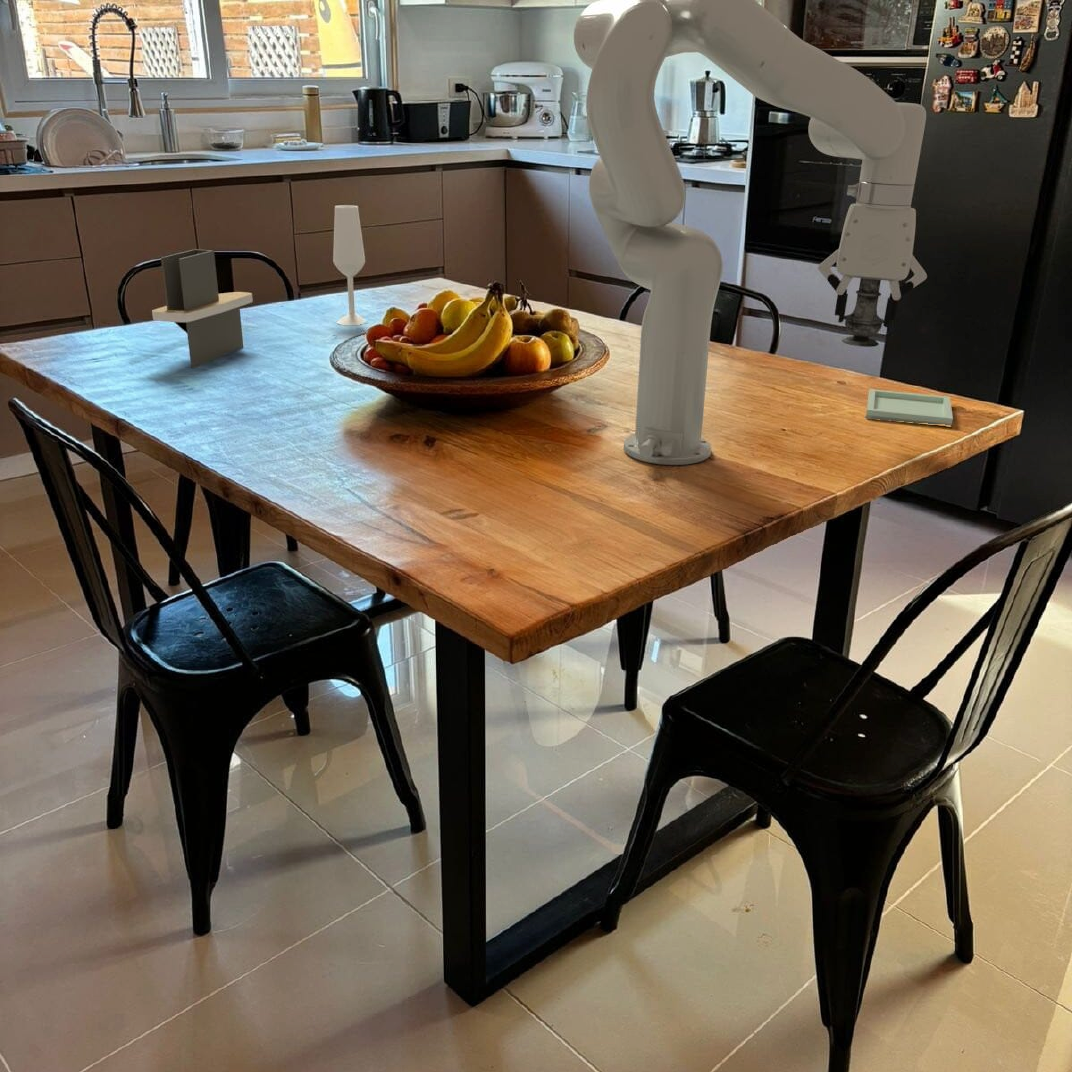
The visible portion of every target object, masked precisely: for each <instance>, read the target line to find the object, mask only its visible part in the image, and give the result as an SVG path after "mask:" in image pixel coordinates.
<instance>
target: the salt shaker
mask: <svg viewBox="0 0 1072 1072" xmlns="http://www.w3.org/2000/svg"><path fill="white" fill-rule="evenodd" d="M881 282H882V280H875V279H864V278H860V281H859V287H858V290H856V291H855V293H856V294H857V296H856V302H855V306H854V309H853V311H852V312H851V313H849V314H847V315H845V316H844V320H845V322H844V326H845V329H846V331H847V332H848V333H849V334H850V335H849V336H846V337H844V338H843V339H841V341H842V343H843V344H846V345H849V346H854V347H865V348H873V347H878V346H879V345H880V344H879V342H878V341H877V340H876V339H875V338H871V337H874V336H875V335H877V334H878V333H879V332H880V331H881V328H882V325H883V324H884V318H881V317H880V316H879V315H878V302H879V297H881V295H882V293H881V292H880V287H881ZM851 335H852V336H851Z"/></svg>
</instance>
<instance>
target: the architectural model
mask: <svg viewBox="0 0 1072 1072" xmlns="http://www.w3.org/2000/svg"><path fill="white" fill-rule="evenodd" d="M160 262H161V271H162V278H163V280H162V281H163V288H164V296H165V303H166V305H164V306H162V307H158V308H154V309H152V310H151V314H152V319H153V320H152V321H159V322H167V323H168V322H169V323H170V322H171V323H175V325H177V327H178V328H180V329H181V330H182V331H184V333H186V334H187V342H188V351H189V359H190V368H191V369H195V368H197V367H199V366H202V365H204V364H206V363H209V362H212V361H213V360H214V361H215V360H216V359H218V358H221V357H224V356H225V355H229V354H230V353H233V352H235V351H238V350H240V349H242V348H244V339H243V329H242V319H241V318H242V316H241V309H240V307H242V306H245V305H247V304H252V303H253V302H254V301H253V293H252V292H245V291H233V292H224V293H221V292H220V293H219V286H218V280H217V279H218V278H217V277H218V276H217V275H218V274H217V267H216V256H215V251H214V250H211V249H199V248H198V249H190V250H187V251H183V252H177V253H174V254H170V255H166V256H161V257H160Z"/></svg>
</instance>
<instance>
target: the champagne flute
mask: <svg viewBox="0 0 1072 1072" xmlns="http://www.w3.org/2000/svg"><path fill="white" fill-rule="evenodd" d="M360 220H361V219H360V212H359V206H358V205H350V204H347V205H346V204H344V205H343V204H341V205H335V206H334V223H333V226H334V227H333V250H332V251H333V253H332V254H333V255H332V262H333V264H334V266H335V267H336V269H338V271H339V272H340V273H342V275H344V276H346V277H347V278H346V279H347V297H348V313H347V314H346V315H345V316H343V317H342V318H340V319H339V320H338V321H336V323H337V324H338V325H341V326H361V325H360V324H363V323H365V322H366V320H367V319H365V318H364V317H362V316H360V315H358V314H357V313H355V294H354V293H355V292H354V277H355V276H356V275H357V274H358V273H359V272H360V271H361V270H362V268H363V267H364V265H365V263H366V255H365V254H366V253H365V248H364V241H363V234H362V226H361V221H360ZM363 325H364V324H363Z"/></svg>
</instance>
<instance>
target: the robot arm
mask: <svg viewBox="0 0 1072 1072" xmlns="http://www.w3.org/2000/svg"><path fill="white" fill-rule="evenodd" d="M573 43H574V44H573V45H574V48H575V51H576V54H577V56H578V58H579V59H580V61H581V62H582V63H583V64H584V65H585V66H587V67H588V68H589V69H591V72H590V75H589V76H590V78H589V81H588V85H587V90H586V91H587V92H586V99H585V101H586V102H585V107H586V108H585V109H586V110H585V111H586V119H587V123H588V127H589V131H590V134H591V136H592V139H593V142H594V144H595V147H596V150H597V153H598V155H599V158H597V160H596V161H595V163H594V165H593V166H592V168H591V172H590V175H589V181H588V189H589V190H588V192H589V197H590V202H591V205H592V208H593V211H594V213H595V215H596V217H597V220H598V222H599V225H600V226H601V229H602V231H603V232H604V233H603V234H604V235H605V237H606V239H607V242H608V244H609V246H610V248H611V250H612V253H613V255H614V257H615V259H616V261H617V263H618V266H619V267H620V269H621V270H622V272H623V274H625V276H626V277H627V278H628V279H629V280H630V281H632V282H633V283H635V284H636V285H639V286H640V287H642V288H644V289H648V290H650V294H649V298H648V301H647V303H646V307H645V310H644V312H643V313H644V314H643V317H642V322H641V329H640V343H639V344H640V348H639V362H638V364H639V365H638V376H637V377H638V379H637V380H638V381H637V396H636V400H637V401H636V413H635V414H636V415H635V430H634V434H631V435H629V436H628V437H626V438H625V439H624V441H623V451H624V452H625V453H626V454H627V455H628V456H629V457H631V458H633V459H635V460H638V461H641V462H645V463H649V464H656V465H664V466H683V465H691V464H696V463H700V462H703V461H705V460H707V459H708V458H709V457H710V456H711V454H712V445H711V444H710V442H709V441H708V440H706V439H705V438H702V434H703V433H702V432H703V421H704V410H705V397H706V386H707V385H706V384H707V377H708V376H707V374H708V365H709V364H708V363H709V352H710V340H711V330H712V329H711V328H712V320H713V313H714V309H715V308H714V307H715V304H716V301H717V300H716V299H717V296H718V292H719V290H720V289H719V288H720V285H721V281H722V275H723V256H722V253H721V250H720V248H719V246H718V245H717V243H716V242H715V240H714V239H713V238H712V237H711V236H710V235H708V234H707V233H705V232H703V231H702V230H700V229H698V228H695V227H692V226H689V225H685V224H681V223H678V222H677V223H676V222H673V221H675V220H676V219H677V218H678V217H679V216H680V214H681V213H682V212H683V209H684V207H685V202H686V185H685V182H684V179H683V176H682V173H681V171H680V168H679V165H678V163H677V162H676V161H677V160H676V159H675V156H674V154H673V151H672V149H671V146H670V143H669V141H668V139H667V136H666V134H665V131H664V129H663V126H662V124H661V120H660V117H659V114H658V111H657V107H656V100H655V90H656V89H655V88H656V82H657V79H658V75H659V72H660V69H661V68H662V65H663V63H664V62H665V59H666V58H668V57H672V56H675V55H678V54H683V53H684V54H685V53H699V54H701V55H702V56H703V57H704V58H705V57H706V59H708V60H709V61H711V63H713V64H714V65H715V66H716V67H718V68H720V69H721V70H722V71H723V72H725V74H727V75H728V76H729V77H731V78H732V79H733V80H734V81H736V82H737V83H738V84H739V85H741V86H742V87H743V88H744V89H745V90H747V91H748V92H750V94H752V95H753V96H754V97H755V98H757V99H759V100H761V101H762V102H763V101H764V102H766V103H767V104H770V105H772V106H774V107H777V108H779V109H780V108H781V109H784V110H788V111H791V112H795V113H797V114H801V115H804V116H806V117H809V118H810V120H809V121H808V127H807V128H808V137H809V140H810V141H811V144H813V147H815V148H816V150H817V151H819V152H821V153H822V154H824V155H826V156H827V155H828V156H832V157H835V158H836V157H837V158H838V157H839V158H845V159H856V160H862V163H861V166H860V167H861V168H860V172H859V173H860V175H859V182H858V183H856V184H853V185H850V184H849V185H848V184H847V185H848V186H847V192H846V195H847V196H851V197H854V199H856V200H855V203H851V204H849V205H850V206H849V208H848V211H847V213H846V216H845V220H844V224H843V227H842V233H841V238H840V242H839V247H838V249H836V250H835V251H834V252H833V253H832V254H830V255H829V256H828V257H827V258H826V259H824V260H823V261H822V262H820V264H819V265H818V267H817V269H818V271H819V272H820V274H822V276H823V277H824V278H825V279H826V280H827V282H828V283H829V285H830V286H831V287H832V288H833V290H834V291H835V292H836V294H837V296H836V297H837V298H836V303H835V310H834V316H838V320H837V321H838V323H844V320H845V319H844V316H846V315H845V314H846V309H847V302H848V295H849V294H848V289H847V288H848V287H849V285H850V284H851V281H852V280H853V278H856V279H861V278H864V279H875V280H881V281H886V282H887V281H888V284H889V288H890V293H889V297H887V302H886V307H885V312H884V313H885V314H884V318H883V320H884V323H882V325H883V327H884V328H889V325H890V322H895V317H896V313H897V307H898V302H899V301H900V299H901V298H902V297H903V296H905V295H906V294H908V293H909V292H910V291H912V290H913V289H914V288H915V287H917V286H918V285H920V284H921V283H923V282H925V280H927V278H928V275H927V273H926V271H925V269H924V268H923V267H922V266H921V264H920V263H919V262H918V260H917V259H916V258H915V255H913V252H914V243H915V235H916V226H917V225H916V223H917V221H916V220H917V218H916V216H917V211H916V209H915V208H913V207H912V199H913V195H914V189H915V184H916V179H917V174H918V173H917V172H918V167H919V161H920V155H921V151H922V150H921V149H922V144H923V140H924V139H923V138H924V132H925V126H926V121H927V110H926V108H925V107H924V106H923V105H922V104H919V103H911V102H898V101H897V102H896V101H895V100H894V99H893V98H892V97H891V96H890V95H889V94H888V93H886V92H885V90H883V89H882V88H881V87H880V86H879V85H877V84H876V83H875V82H874V81H873V80H871V79H870V78H869V77H868V76H866V75H865V74H863V73H862V72H860V71H858V70H857V69H855V68H853V67H852V66H850V65H849V64H847V63H845V62H843V61H841V60H839V59H837V58H835V57H833V56H832V55H830V54H828V53H826V52H825V51H823V50H822V49H819V48H818V47H816V46H814V45H812V44H810V43H808V42H806V41H804V40H803V39H802V38H800V37H799V36H798V35H797V34H795V33H794V32H793V31H791V30H790V28H788V27H787V26H786V25H784V23H782V22H781V21H780V20H779V19H777V18H776V17H775V16H774V15H773V14H772V13H771V12H769V11H768V10H767V9H766V8H765V7H764V6H763V5H761V4H760V3H759V2H758V1H757V0H597V1H595V2H593V3H591V4H590V5H588V6H587V7H586V8H585V9H584V10H583V11H582V12H581V14H580V15H579V16H578V18H577V20H576V23H575V27H574V30H573ZM835 263H836V271H837V273H838V274H839V275H841V276H842V278H841V280H840V278H839V277H838V276H837V275H836V274H835V272H833V270H832V268H831V267H832V266H833V265H834V264H835ZM910 270H911V271H912V272H913V276H912V277H911V278H910V279H908V280H906V281H905V282H904V283H902V284H900V281H903V280H905V279H906V278H907V277H908V275H909V273H910Z"/></svg>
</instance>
